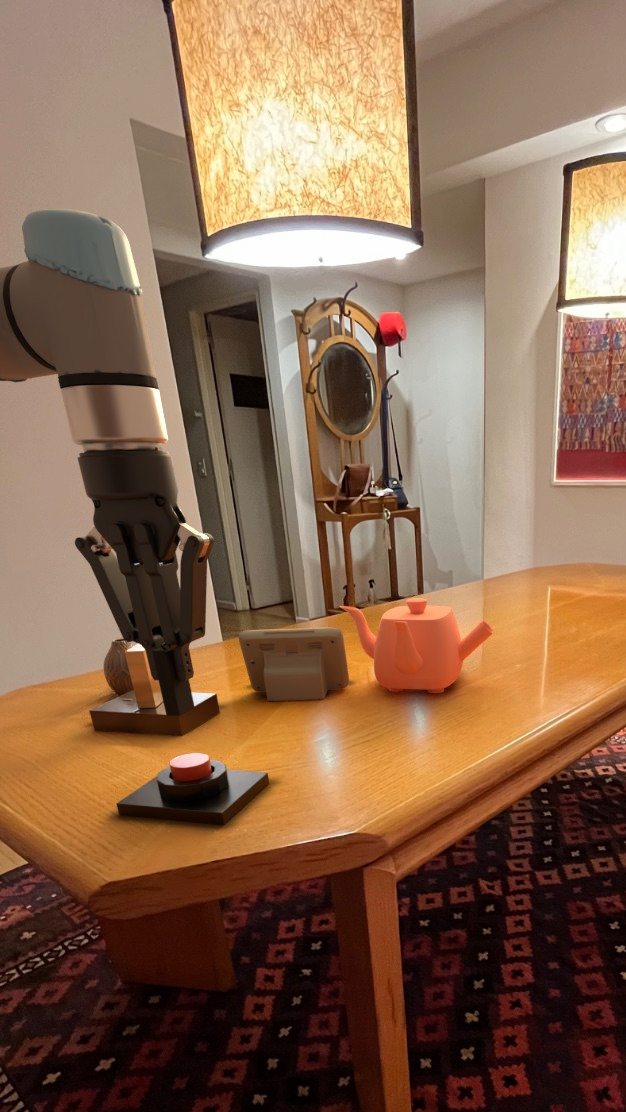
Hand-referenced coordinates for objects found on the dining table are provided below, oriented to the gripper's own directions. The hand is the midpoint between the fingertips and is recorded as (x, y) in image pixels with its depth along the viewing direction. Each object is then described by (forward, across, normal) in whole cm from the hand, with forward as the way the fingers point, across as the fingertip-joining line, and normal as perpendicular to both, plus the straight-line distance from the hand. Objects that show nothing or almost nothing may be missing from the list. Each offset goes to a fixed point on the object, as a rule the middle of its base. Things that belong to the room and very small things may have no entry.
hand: (180, 711), depth 68 cm
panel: (+11, +21, -24) cm, 34 cm away
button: (+7, 0, 0) cm, 7 cm away
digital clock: (+11, +6, -40) cm, 42 cm away
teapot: (+11, -12, -47) cm, 50 cm away
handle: (+7, +21, -24) cm, 33 cm away
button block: (+11, 0, 0) cm, 11 cm away
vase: (+11, +34, -36) cm, 51 cm away
